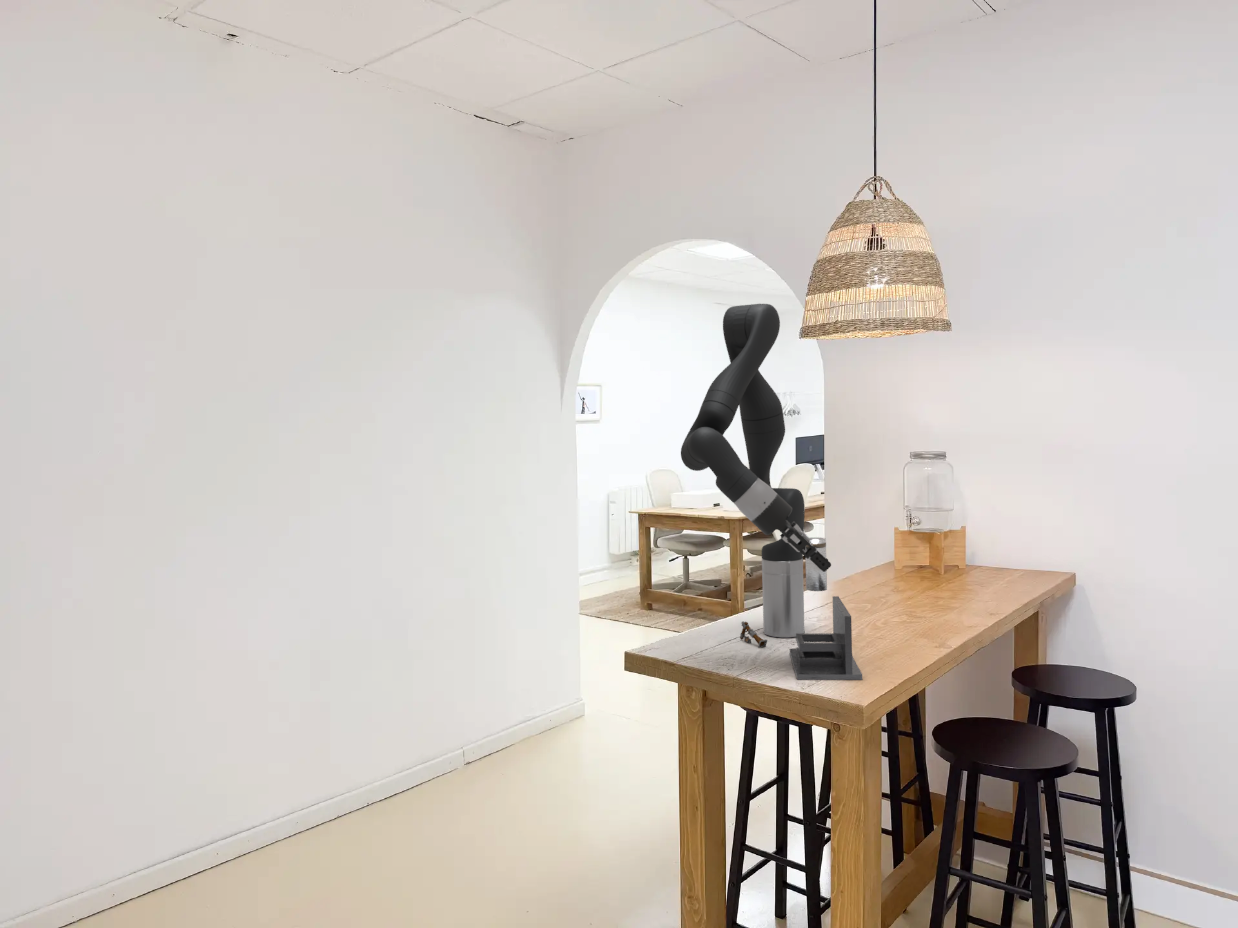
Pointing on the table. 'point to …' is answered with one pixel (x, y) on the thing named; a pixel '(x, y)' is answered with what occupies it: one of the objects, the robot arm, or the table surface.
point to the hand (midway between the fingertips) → (826, 566)
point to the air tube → (814, 574)
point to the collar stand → (827, 651)
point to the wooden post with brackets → (750, 631)
